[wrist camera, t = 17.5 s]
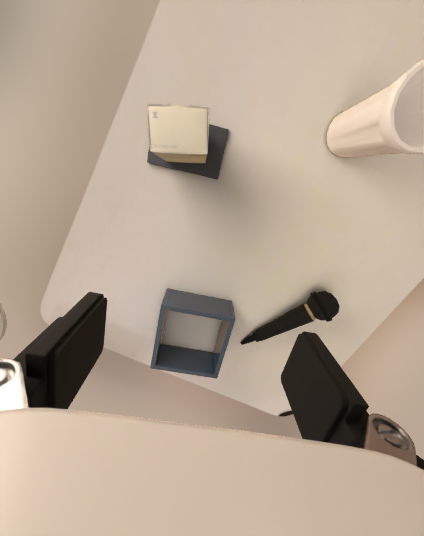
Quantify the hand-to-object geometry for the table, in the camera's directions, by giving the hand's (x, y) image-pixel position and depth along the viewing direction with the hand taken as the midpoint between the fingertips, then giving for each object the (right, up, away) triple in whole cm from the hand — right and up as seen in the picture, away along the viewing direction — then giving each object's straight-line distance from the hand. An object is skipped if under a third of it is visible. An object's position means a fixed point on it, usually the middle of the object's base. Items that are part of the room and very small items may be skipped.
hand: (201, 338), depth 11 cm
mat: (-3, +22, +24) cm, 33 cm away
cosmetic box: (-3, +22, +24) cm, 32 cm away
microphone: (+15, -6, +35) cm, 39 cm away
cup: (+21, +24, +24) cm, 40 cm away
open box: (-3, -8, +35) cm, 36 cm away
